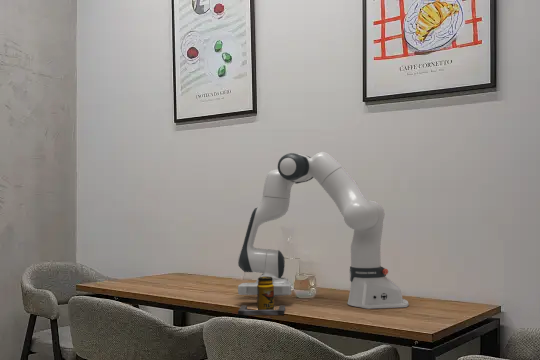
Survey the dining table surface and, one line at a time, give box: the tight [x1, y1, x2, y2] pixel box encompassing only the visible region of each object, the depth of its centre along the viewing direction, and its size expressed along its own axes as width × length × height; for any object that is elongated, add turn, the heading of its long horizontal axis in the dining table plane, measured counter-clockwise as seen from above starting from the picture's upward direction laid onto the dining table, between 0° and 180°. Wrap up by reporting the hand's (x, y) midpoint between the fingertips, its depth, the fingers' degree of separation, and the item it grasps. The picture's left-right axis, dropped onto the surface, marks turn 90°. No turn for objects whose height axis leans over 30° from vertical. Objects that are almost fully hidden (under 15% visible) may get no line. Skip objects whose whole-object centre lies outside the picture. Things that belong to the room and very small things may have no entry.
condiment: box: [256, 276, 275, 310], centre depth 226 cm, size 7×8×12 cm
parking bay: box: [237, 304, 286, 316], centre depth 222 cm, size 16×10×2 cm, turn 85°
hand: (263, 292), depth 228 cm, fingers closed
